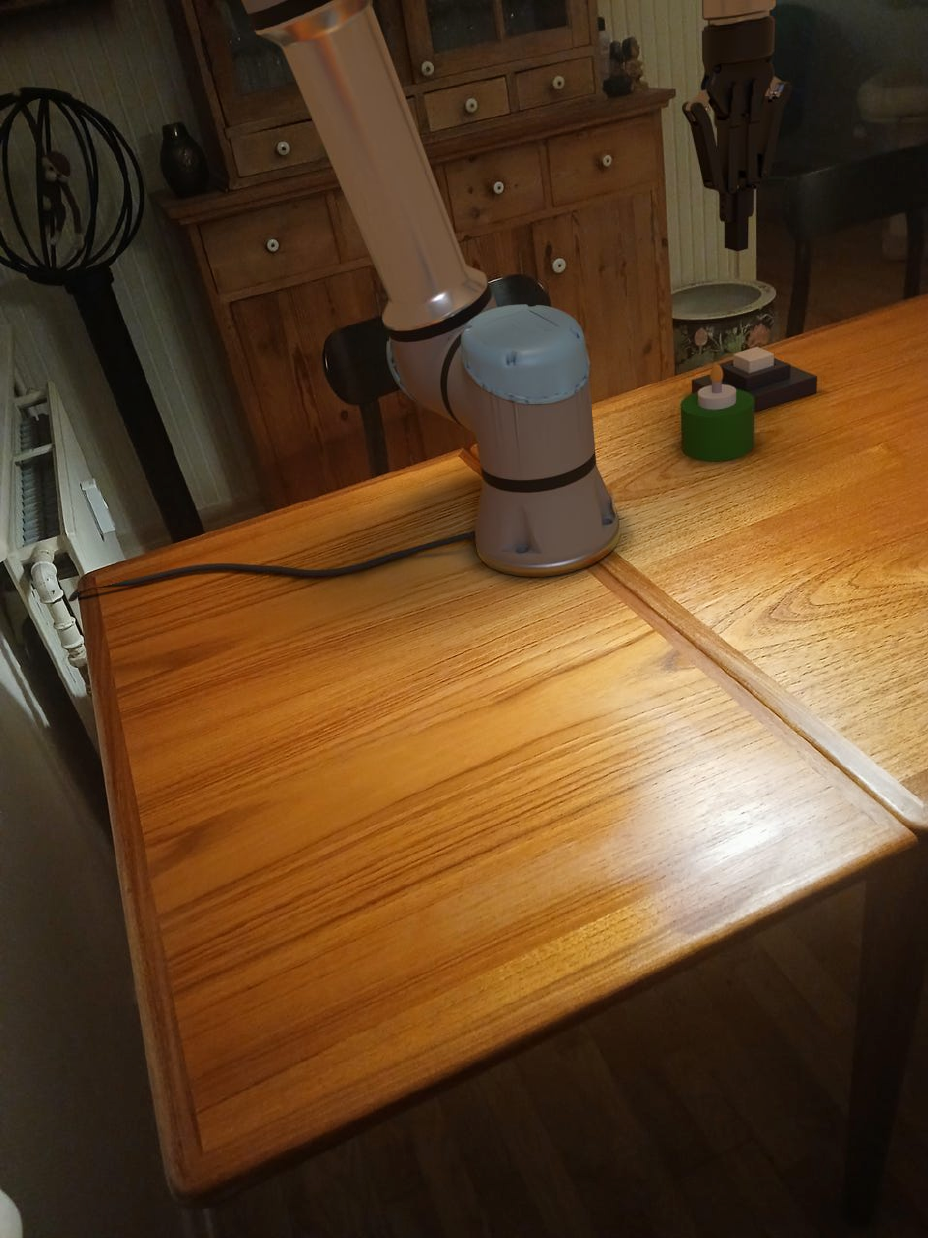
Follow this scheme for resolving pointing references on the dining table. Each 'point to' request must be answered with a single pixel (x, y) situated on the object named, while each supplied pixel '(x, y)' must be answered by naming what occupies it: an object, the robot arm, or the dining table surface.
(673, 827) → the dining table surface
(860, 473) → the dining table surface
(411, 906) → the dining table surface
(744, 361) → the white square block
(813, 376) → the tiered dark pedestal
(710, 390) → the candle
